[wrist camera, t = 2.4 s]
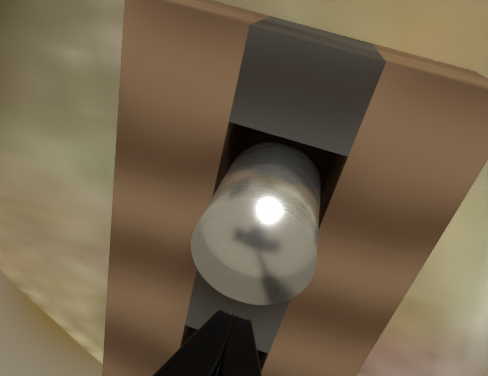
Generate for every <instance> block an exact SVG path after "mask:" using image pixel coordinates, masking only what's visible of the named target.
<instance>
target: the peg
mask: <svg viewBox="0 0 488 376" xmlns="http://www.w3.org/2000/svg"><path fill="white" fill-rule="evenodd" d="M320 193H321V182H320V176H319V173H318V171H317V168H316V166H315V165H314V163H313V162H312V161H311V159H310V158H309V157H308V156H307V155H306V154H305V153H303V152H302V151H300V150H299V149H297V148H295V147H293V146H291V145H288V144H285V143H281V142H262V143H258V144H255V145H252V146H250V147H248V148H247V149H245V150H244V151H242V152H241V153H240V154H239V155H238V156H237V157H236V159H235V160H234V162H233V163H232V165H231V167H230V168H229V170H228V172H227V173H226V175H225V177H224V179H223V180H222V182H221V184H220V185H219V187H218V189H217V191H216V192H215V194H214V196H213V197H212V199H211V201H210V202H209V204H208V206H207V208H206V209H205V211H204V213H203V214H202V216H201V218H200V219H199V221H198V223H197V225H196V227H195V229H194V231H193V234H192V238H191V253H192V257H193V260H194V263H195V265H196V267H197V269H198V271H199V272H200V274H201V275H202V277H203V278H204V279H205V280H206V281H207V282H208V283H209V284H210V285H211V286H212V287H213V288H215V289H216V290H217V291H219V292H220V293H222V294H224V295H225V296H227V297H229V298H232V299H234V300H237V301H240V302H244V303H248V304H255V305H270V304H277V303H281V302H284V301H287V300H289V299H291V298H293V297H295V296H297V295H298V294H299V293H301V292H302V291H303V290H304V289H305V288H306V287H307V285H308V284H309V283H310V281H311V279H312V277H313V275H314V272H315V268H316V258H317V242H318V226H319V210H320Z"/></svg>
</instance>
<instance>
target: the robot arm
mask: <svg viewBox="0 0 488 376" xmlns="http://www.w3.org/2000/svg"><path fill="white" fill-rule="evenodd" d="M233 319H234V320H233ZM232 322H233V323H232ZM230 329H231V330H230ZM229 332H230V333H229ZM228 335H229V336H228ZM226 342H227V343H226ZM225 345H226V346H225ZM222 355H223V356H222ZM221 358H222V359H221ZM219 365H220V366H219ZM218 368H219V369H218ZM217 371H218V372H217ZM152 376H262V374H261V369H260V364H259V358H258V353H257V348H256V342H255V337H254V332H253V326H252V322H251V319H250V318H247V317H244V316H241V315H238V314H237V315H235V317H234V313H232V312H229V311H226V310H223V309H219V310H218V311H216V312H215V313H214V314H213V315H212V316H211V317H210V318H209V319H208V320H207V321H206V322H205V323H204V324H203V325H202V326H201V327H200V328H199V329H198V330H197V331H196V332H195V333H194V334H193V335H192V336H191V337H190V338H189V339H188V340H187V341H186V342H185V343H184V344H183V345H182V346H181V347H180V348H179V349H178V350H177V351H176V352H175V353H174V354H173V355H172V356H171V357H170V358H169V359H168V360H167V361H166V362H165V363H164V364H163V365H162V366H161V367H160V368H159V369H158V370H157V371H156V372H155V373H154V374H153V375H152Z"/></svg>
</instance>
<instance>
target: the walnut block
mask: <svg viewBox="0 0 488 376" xmlns="http://www.w3.org/2000/svg"><path fill="white" fill-rule="evenodd" d="M244 126H245V127H249V128H252V129H255V130H259V131H262V132H266V133H269V134H272V135H276V136H279V137H283V138H286V139H289V140H293V141H296V142H300V143H303V144H306V145H310V146H313V147H317V148H320V149H324V150H327V151H330V152H332V153H331V156H330V159H329V161H328V164H327V167H326V169H325V172H324V175H323V177H322V180H321V193H320V210H319V226H318V242H317V258H316V268H315V272H314V275H313V277H312V279H311V281H310V283H309V284H308V285H307V287H306V288H305V289H304V290H303V291H302V292H301V293H299V294H298V295H297V296H295V297H293V298H291V299H289V300H287V301H284V302H281V303H277V304H270V305H255V304H248V303H244V302H240V301H237V300H234V299H232V298H229V297H227V296H225V295H224V294H222V293H220V292H219V291H217V290H216V289H215V288H213V287H212V286H211V285H210V284H209V283H208V282H207V281H206V280H205V279H204V278H203V277H202V275H201V274H200V272H199V271H198V269H197V267H196V265H195V263H194V260H193V257H192V253H191V238H192V234H193V231H194V229H195V227H196V225H197V223H198V221H199V219H200V218H201V216H202V214H203V213H204V211H205V209H206V208H207V206H208V204H209V202H210V201H211V199H212V197H213V196H214V194H215V192H216V191H217V189H218V187H219V185H220V184H221V182H222V180H223V179H224V177H225V175H226V173H227V172H228V170H229V168H230V167H231V165H232V163H233V162H234V160H235V159H236V157H237V154H238V150H239V146H240V142H241V138H242V134H243V129H244ZM487 160H488V79H487V78H485V77H484V76H482V75H480V74H478V73H476V72H475V71H471V70H467V69H464V68H460V67H456V66H453V65H449V64H445V63H441V62H438V61H434V60H430V59H427V58H423V57H419V56H416V55H412V54H408V53H404V52H401V51H397V50H393V49H390V48H386V47H382V46H379V45H375V44H371V43H367V42H364V41H360V40H356V39H353V38H349V37H345V36H341V35H338V34H334V33H330V32H327V31H323V30H319V29H316V28H312V27H308V26H304V25H301V24H297V23H293V22H290V21H286V20H282V19H278V18H275V17H271V16H267V15H264V14H260V13H256V12H253V11H249V10H245V9H241V8H238V7H234V6H230V5H227V4H223V3H219V2H216V1H212V0H125V6H124V23H123V40H122V56H121V73H120V90H119V106H118V123H117V139H116V156H115V173H114V189H113V206H112V223H111V239H110V256H109V273H108V289H107V306H106V322H105V339H104V356H103V372H102V374H103V375H102V376H152V375H153V374H154V373H155V372H156V371H157V370H158V369H159V368H160V367H161V366H162V365H163V364H164V363H165V362H166V361H167V360H168V359H169V358H170V357H171V356H172V355H173V354H174V353H175V352H176V351H177V350H178V349H179V348H180V347H181V346H182V345H183V344H184V343H185V342H186V341H187V340H188V339H189V338H190V337H191V336H192V335H193V334H194V333H195V332H196V331H197V330H198V329H199V328H200V327H201V326H202V325H203V324H204V323H205V322H206V321H207V320H208V319H209V318H210V317H211V316H212V315H213V314H214V313H215V312H216V311H218V310H219V309H223V310H226V311H229V312H232V313H234V317H235V315H237V314H238V315H241V316H244V317H247V318H250V319H251V322H252V326H253V332H254V337H255V342H256V348H257V353H258V358H259V364H260V369H261V374H262V376H356V374H357V373H358V371H359V369H360V368H361V366H362V365H363V363H364V361H365V360H366V358H367V356H368V355H369V353H370V351H371V350H372V348H373V347H374V345H375V343H376V342H377V340H378V338H379V337H380V335H381V333H382V332H383V330H384V329H385V327H386V325H387V324H388V322H389V320H390V319H391V317H392V315H393V314H394V312H395V311H396V309H397V307H398V306H399V304H400V302H401V301H402V299H403V298H404V296H405V294H406V293H407V291H408V289H409V288H410V286H411V284H412V283H413V281H414V280H415V278H416V276H417V275H418V273H419V271H420V270H421V268H422V266H423V265H424V263H425V262H426V260H427V258H428V257H429V255H430V253H431V252H432V250H433V248H434V247H435V245H436V244H437V242H438V240H439V239H440V237H441V235H442V234H443V232H444V231H445V229H446V227H447V226H448V224H449V222H450V221H451V219H452V217H453V216H454V214H455V213H456V211H457V209H458V208H459V206H460V204H461V203H462V201H463V199H464V198H465V196H466V195H467V193H468V191H469V190H470V188H471V186H472V185H473V183H474V181H475V180H476V178H477V177H478V175H479V173H480V172H481V170H482V168H483V167H484V165H485V163H486V162H487ZM233 320H234V319H233ZM232 323H233V322H232ZM230 330H231V329H230ZM229 333H230V332H229ZM228 336H229V335H228Z"/></svg>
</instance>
